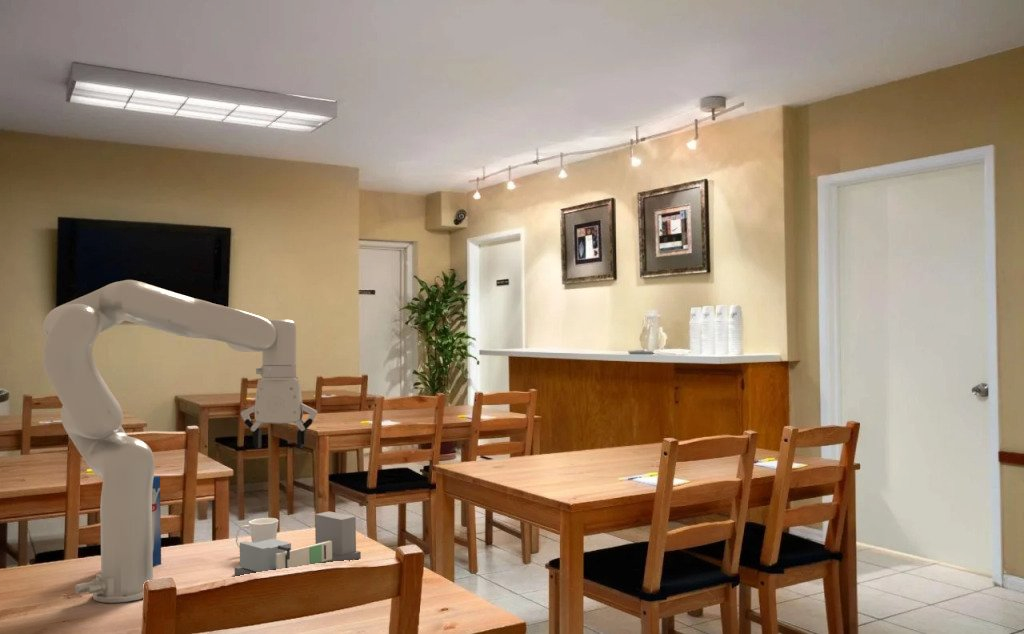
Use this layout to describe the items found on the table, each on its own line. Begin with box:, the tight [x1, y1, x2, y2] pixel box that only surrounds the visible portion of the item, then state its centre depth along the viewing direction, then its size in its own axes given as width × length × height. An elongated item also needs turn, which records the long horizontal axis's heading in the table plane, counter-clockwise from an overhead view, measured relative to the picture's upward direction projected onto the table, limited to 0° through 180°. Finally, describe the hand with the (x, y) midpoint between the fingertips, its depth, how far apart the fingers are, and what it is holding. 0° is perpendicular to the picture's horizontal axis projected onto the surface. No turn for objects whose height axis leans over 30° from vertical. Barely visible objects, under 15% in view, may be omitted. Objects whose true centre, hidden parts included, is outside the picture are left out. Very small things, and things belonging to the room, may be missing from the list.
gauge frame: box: [234, 510, 362, 576], centre depth 188 cm, size 25×12×10 cm, turn 139°
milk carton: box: [152, 475, 162, 567], centre depth 190 cm, size 10×6×20 cm, turn 146°
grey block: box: [239, 538, 292, 572], centre depth 181 cm, size 8×12×5 cm, turn 49°
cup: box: [235, 517, 279, 549], centre depth 198 cm, size 7×10×8 cm
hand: (279, 448), depth 193 cm, fingers open, 9 cm apart
